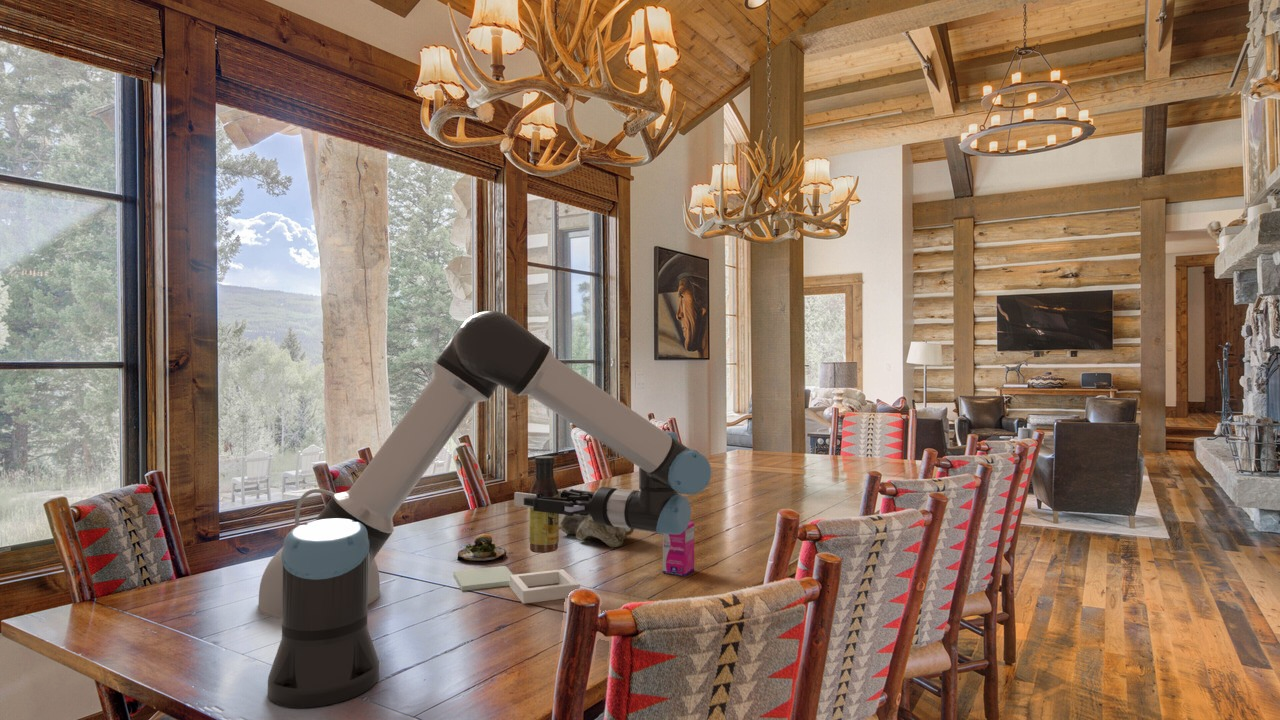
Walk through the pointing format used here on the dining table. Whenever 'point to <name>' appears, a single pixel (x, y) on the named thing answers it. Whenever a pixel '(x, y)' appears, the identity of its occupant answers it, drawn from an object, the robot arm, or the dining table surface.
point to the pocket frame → (545, 593)
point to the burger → (482, 549)
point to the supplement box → (679, 552)
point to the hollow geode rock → (592, 529)
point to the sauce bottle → (544, 523)
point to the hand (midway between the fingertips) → (526, 496)
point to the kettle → (274, 575)
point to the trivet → (483, 578)
